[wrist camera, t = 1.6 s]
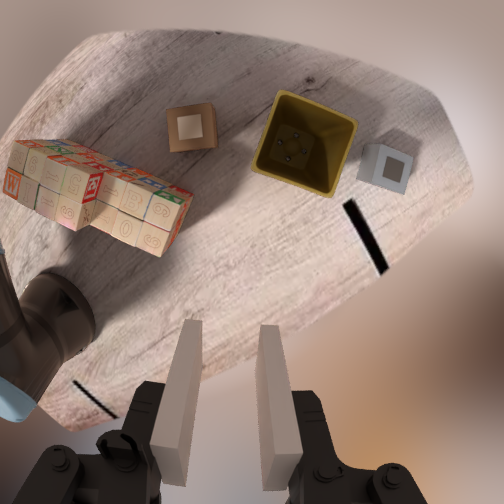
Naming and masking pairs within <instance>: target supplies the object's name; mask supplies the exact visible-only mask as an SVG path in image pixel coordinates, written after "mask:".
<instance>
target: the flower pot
mask: <svg viewBox="0 0 504 504" xmlns="http://www.w3.org/2000/svg"><path fill="white" fill-rule="evenodd" d="M357 128H358V121H357V120H355V119H353V118H351V117H349V116H347V115H345V114H342V113H340V112H338V111H336V110H333V109H331V108H329V107H326V106H324V105H322V104H319V103H317V102H315V101H312V100H309V99H307V98H304V97H302V96H300V95H297V94H294V93H292V92H289V91H286V90H282V89H281V90H279V91H278V92H277V94H276V97H275V100H274V103H273V105H272V108H271V111H270V114H269V117H268V119H267V122H266V125H265V128H264V130H263V133H262V136H261V139H260V141H259V144H258V147H257V149H256V152H255V155H254V157H253V160H252V163H251V170H252V171H254V172H256V173H259V174H262V175H265V176H268V177H271V178H274V179H277V180H280V181H283V182H286V183H289V184H292V185H294V186H297V187H300V188H302V189H305V190H308V191H310V192H313V193H315V194H318V195H320V196H323V197H326V198H332V197H333V195H334V193H335V190H336V187H337V184H338V181H339V178H340V175H341V172H342V169H343V166H344V163H345V161H346V158H347V155H348V153H349V150H350V147H351V145H352V142H353V139H354V136H355V134H356V131H357ZM295 133H297V134H298V135H299V136H298V137H297V138H296V137H294V134H295ZM279 140H281V141H282V144H281V145H279V144H278V141H279ZM303 149H305V150H306V153H305V154H303V153H302V150H303ZM288 156H289V157H290V160H289V161H287V160H286V157H288Z"/></svg>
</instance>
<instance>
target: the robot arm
mask: <svg viewBox="0 0 504 504" xmlns="http://www.w3.org/2000/svg"><path fill="white" fill-rule="evenodd" d="M4 253H5V249H3V246H2V243H1V239H0V416H1V417H2V418H4V419H7V420H9V421H12V422H21V421H23V420H25V419H26V418H27V416H28V415H29V414H30V412H31V411H32V410H33V408H35V407H36V405H37V403H38V402H39V400H40V398H41V397H42V395H43V394H44V392H45V390H46V389H47V387H48V386H49V384H50V382H51V381H52V379H53V378H54V376H55V375H56V373H57V372H58V370H59V368H60V367H61V366H62V364H63V363H64V362H66V361H68V360H70V359H71V358H73V357H74V356H75V355H78V354H80V353H82V352H83V351H84V350H85V349H86V348H87V347H88V345H89V344H90V342H91V341H92V339H93V337H94V334H95V321H94V316H93V313H92V311H91V308H90V306H89V304H88V302H87V301H86V299H85V298H84V296H83V295H82V294H81V292H80V291H79V290H78V289H77V288H76V287H75V286H74V285H73V284H72V283H70V282H69V281H68V280H66V279H65V278H63V277H61V276H59V275H56V274H52V273H44V274H40V275H38V276H36V277H35V278H34V279H32V280H31V281H30V282H29V283H28V284H27V285H26V286H25V288H24V290H23V293H22V295H21V297H20V299H19V300H18V298H17V295H16V292H15V289H14V286H13V283H12V279H11V276H10V273H9V269H8V266H7V262H6V258H5V254H4ZM201 373H202V321H200V320H189V319H185V321H184V324H183V327H182V331H181V334H180V337H179V340H178V344H177V347H176V350H175V354H174V357H173V360H172V364H171V367H170V371H169V374H168V378H167V381H166V384H164V383H157V382H151V381H144V382H143V383H142V384H141V385H140V386H139V387H138V388H137V389H136V391H135V394H134V396H133V399H132V402H131V404H130V407H129V410H128V413H127V415H126V418H125V421H124V424H123V427H122V429H121V430H111V431H108V432H105V433H104V434H103V435H101V436H100V437H99V439H98V440H97V443H96V446H97V448H98V450H99V451H100V453H101V454H96V455H87V454H86V455H85V454H76V453H75V452H74V451H73V450H72V449H71V448H69V447H67V446H64V445H54V446H51V447H49V448H47V449H46V450H45V451H44V452H43V453H42V455H41V457H40V458H39V460H38V461H37V463H36V465H35V466H34V468H33V469H32V471H31V473H30V474H29V476H28V477H27V479H26V481H25V482H24V484H23V486H22V487H21V489H20V491H19V492H18V494H17V496H16V498H15V499H14V501H13V503H12V504H161V493H160V490H159V489H160V483H161V479H162V482H163V483H164V484H170V485H176V486H184V487H186V480H187V472H188V463H189V456H190V448H191V441H192V434H193V427H194V420H195V412H196V406H197V399H198V392H199V386H200V379H201ZM255 378H256V392H257V393H256V394H257V408H258V423H259V424H258V425H259V438H260V439H259V440H260V455H261V469H262V484H263V491H278V490H279V491H280V490H286V489H287V486H288V487H289V494H290V496H289V498H288V500H287V501H286V503H285V504H427V502H426V500H425V498H424V497H423V495H422V493H421V491H420V489H419V488H418V486H417V484H416V482H415V481H414V479H413V477H412V475H411V474H410V472H409V471H408V470H407V469H406V468H405V467H404V466H402V465H400V464H396V463H388V464H384V465H382V466H380V467H379V468H378V469H377V470H365V469H356V468H352V467H349V466H347V465H345V464H344V463H342V462H341V461H340V460H339V458H338V457H337V455H336V453H335V450H334V446H333V443H332V439H331V436H330V432H329V429H328V425H327V422H326V418H325V415H324V413H323V408H322V404H321V401H320V399H319V398H318V397H317V396H316V395H315V393H314V392H313V391H311V390H308V391H291V387H290V382H289V377H288V373H287V367H286V362H285V358H284V352H283V347H282V342H281V337H280V332H279V327H278V325H261V328H260V336H259V344H258V351H257V359H256V367H255Z"/></svg>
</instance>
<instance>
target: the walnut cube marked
mask: <svg viewBox="0 0 504 504" xmlns="http://www.w3.org/2000/svg"><path fill="white" fill-rule="evenodd" d="M166 113H167V125H168V136H169V146H170V152H186V151H193V150H201V149H208V148H217V147H218V138H217V127H216V116H215V109H214V107H213V105H212V104H211V103H203V104H196V105H190V106H183V107H177V108H172V109H166Z"/></svg>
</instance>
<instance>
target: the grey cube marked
mask: <svg viewBox="0 0 504 504" xmlns="http://www.w3.org/2000/svg"><path fill="white" fill-rule="evenodd" d="M413 158H414V157H412V156H409V155H407V154H405V153H403V152H400V151H398V150H395V149H393V148H391V147H388V146H386V145H383V144H365V146H364V150H363V154H362V158H361V163H360V166H359V170H358V174H357V178H356V179H357V180H360V181H364V182H367V183H370V184H372V185H375V186H378V187H381V188H384V189H387V190H390V191H393V192H397V193H400V194H403V195H404V194H405V190H406V187H407V183H408V179H409V175H410V171H411V167H412V163H413Z"/></svg>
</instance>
